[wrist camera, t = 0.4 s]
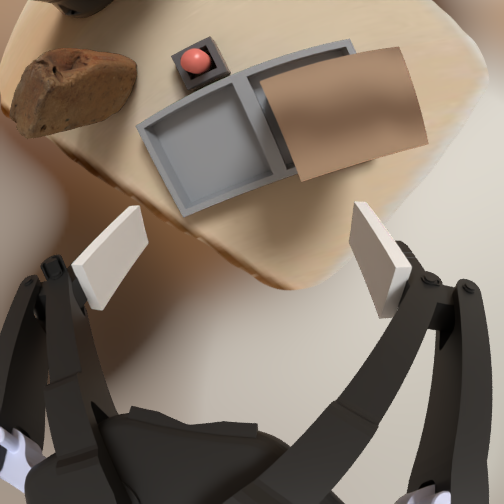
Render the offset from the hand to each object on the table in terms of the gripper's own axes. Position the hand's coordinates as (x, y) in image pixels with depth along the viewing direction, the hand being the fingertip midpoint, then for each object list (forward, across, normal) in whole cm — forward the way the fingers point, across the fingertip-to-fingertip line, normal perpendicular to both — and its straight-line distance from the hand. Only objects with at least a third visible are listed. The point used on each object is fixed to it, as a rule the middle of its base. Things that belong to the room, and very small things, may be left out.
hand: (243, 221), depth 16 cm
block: (+26, -23, +13) cm, 37 cm away
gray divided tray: (+26, 0, +3) cm, 26 cm away
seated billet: (+25, +8, +6) cm, 27 cm away
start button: (+24, -8, +13) cm, 29 cm away
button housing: (+26, -8, +13) cm, 30 cm away
